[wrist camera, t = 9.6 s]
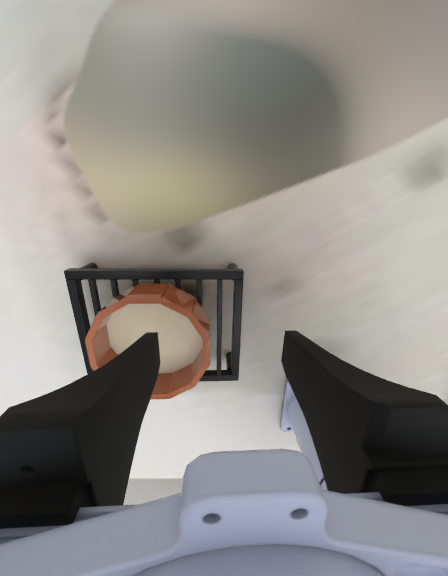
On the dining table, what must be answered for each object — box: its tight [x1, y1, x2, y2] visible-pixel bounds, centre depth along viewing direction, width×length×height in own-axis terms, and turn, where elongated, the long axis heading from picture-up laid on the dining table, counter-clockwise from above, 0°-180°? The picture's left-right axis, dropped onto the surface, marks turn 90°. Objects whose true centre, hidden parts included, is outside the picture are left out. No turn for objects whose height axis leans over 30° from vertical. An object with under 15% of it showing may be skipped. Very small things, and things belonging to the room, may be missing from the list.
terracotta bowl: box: [85, 283, 210, 399], centre depth 19 cm, size 9×9×3 cm
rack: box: [64, 263, 244, 381], centre depth 22 cm, size 14×11×3 cm
